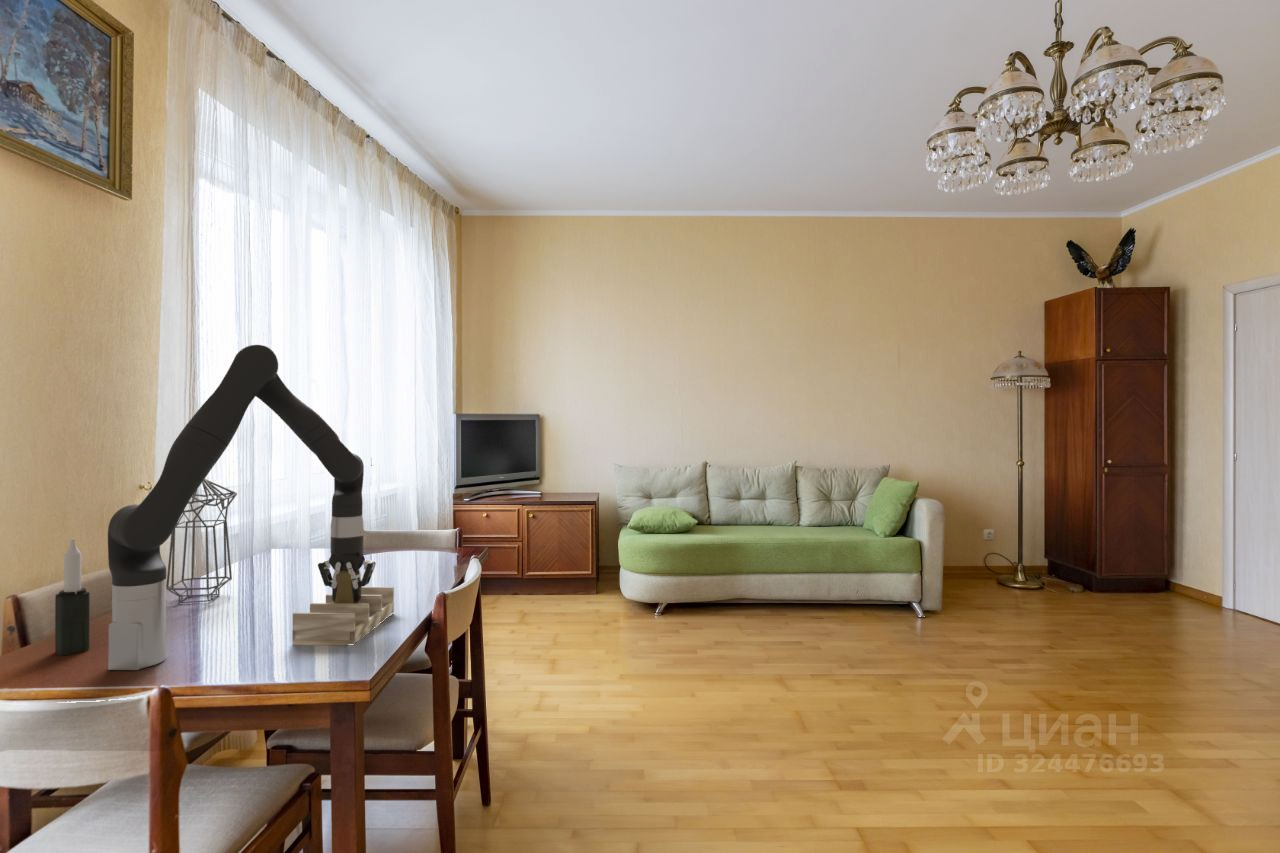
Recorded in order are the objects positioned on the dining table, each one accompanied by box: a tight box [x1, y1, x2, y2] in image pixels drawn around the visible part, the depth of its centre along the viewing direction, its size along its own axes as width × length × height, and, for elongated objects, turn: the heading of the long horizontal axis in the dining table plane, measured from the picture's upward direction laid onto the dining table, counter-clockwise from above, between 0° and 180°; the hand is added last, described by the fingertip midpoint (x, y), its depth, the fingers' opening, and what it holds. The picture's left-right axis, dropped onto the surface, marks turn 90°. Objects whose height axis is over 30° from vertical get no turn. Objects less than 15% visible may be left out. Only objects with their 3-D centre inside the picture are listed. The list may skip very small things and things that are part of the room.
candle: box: [54, 537, 91, 656], centre depth 150 cm, size 5×5×25 cm
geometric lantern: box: [166, 478, 238, 604], centre depth 193 cm, size 16×16×35 cm
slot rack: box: [291, 586, 395, 646], centre depth 168 cm, size 25×14×7 cm, turn 0°
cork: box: [335, 571, 358, 603], centre depth 168 cm, size 6×6×11 cm
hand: (346, 602), depth 168 cm, fingers closed on cork, 4 cm apart
